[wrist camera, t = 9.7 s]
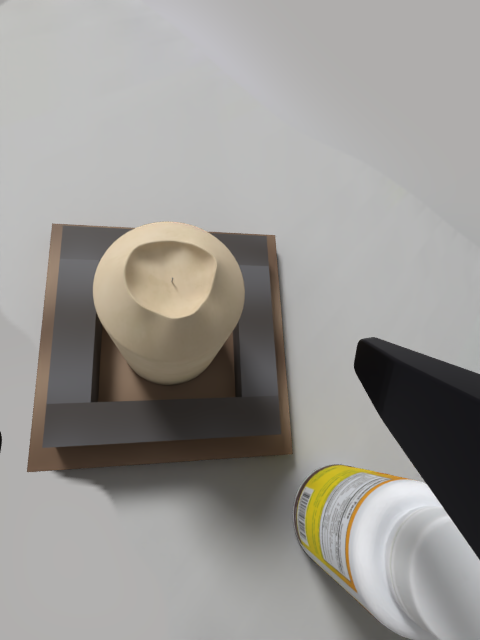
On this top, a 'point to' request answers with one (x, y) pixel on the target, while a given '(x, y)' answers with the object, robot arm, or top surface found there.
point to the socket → (146, 397)
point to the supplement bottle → (391, 551)
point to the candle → (168, 299)
